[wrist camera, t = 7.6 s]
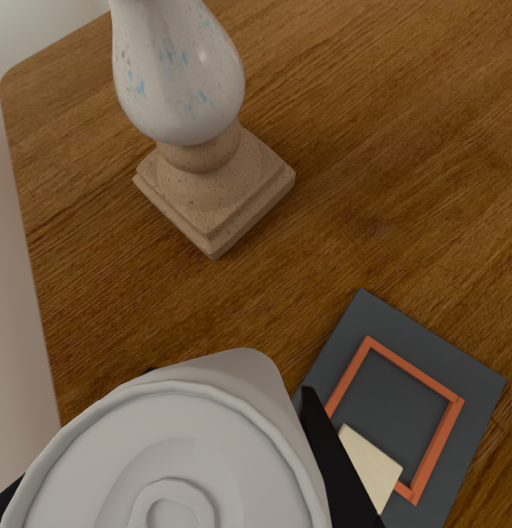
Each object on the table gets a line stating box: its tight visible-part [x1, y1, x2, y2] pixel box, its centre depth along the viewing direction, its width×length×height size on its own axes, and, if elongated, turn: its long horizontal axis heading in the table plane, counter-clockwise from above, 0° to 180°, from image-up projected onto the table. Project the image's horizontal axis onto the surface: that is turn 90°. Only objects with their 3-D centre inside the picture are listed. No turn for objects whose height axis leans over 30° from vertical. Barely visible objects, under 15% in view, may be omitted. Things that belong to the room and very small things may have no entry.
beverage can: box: [0, 347, 332, 528], centre depth 9 cm, size 5×5×12 cm
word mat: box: [291, 288, 507, 528], centre depth 18 cm, size 21×12×1 cm, turn 145°
